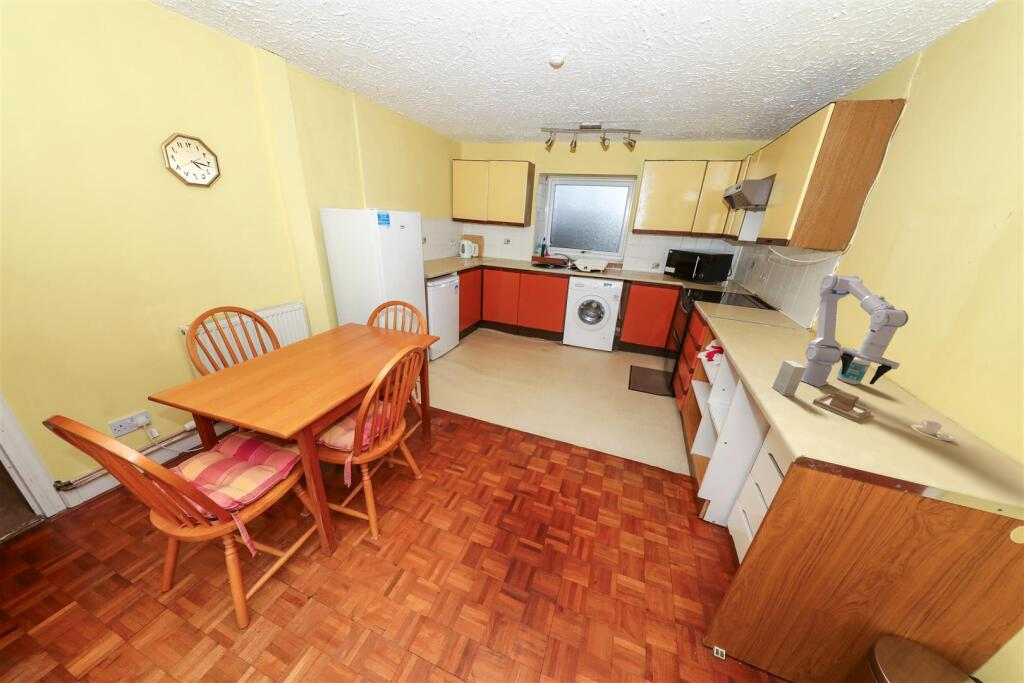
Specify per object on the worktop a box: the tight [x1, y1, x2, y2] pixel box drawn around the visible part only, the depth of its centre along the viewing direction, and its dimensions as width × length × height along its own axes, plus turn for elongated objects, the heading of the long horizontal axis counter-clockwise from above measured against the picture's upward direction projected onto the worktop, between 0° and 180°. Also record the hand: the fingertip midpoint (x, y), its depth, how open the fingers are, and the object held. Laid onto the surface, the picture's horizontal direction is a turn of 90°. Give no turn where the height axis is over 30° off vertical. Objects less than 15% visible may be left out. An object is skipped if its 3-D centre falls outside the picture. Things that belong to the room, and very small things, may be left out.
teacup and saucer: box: [910, 419, 956, 442], centre depth 105 cm, size 9×8×4 cm
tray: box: [812, 393, 872, 422], centre depth 116 cm, size 12×12×2 cm
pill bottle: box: [836, 349, 872, 385], centre depth 136 cm, size 8×7×14 cm
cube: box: [829, 390, 860, 412], centre depth 115 cm, size 5×5×5 cm
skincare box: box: [771, 359, 806, 397], centre depth 123 cm, size 6×4×12 cm
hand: (857, 378), depth 116 cm, fingers open, 7 cm apart
